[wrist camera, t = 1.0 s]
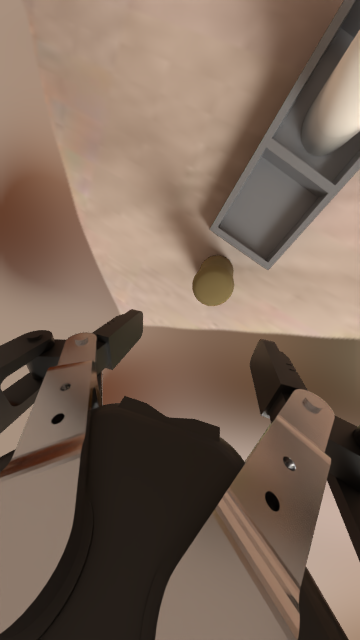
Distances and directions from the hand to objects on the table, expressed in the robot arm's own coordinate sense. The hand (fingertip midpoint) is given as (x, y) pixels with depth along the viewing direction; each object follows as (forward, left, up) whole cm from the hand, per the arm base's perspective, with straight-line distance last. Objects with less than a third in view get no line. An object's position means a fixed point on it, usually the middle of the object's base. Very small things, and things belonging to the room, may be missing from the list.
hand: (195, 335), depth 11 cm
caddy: (-14, +7, -20) cm, 26 cm away
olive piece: (-1, 0, -21) cm, 21 cm away
